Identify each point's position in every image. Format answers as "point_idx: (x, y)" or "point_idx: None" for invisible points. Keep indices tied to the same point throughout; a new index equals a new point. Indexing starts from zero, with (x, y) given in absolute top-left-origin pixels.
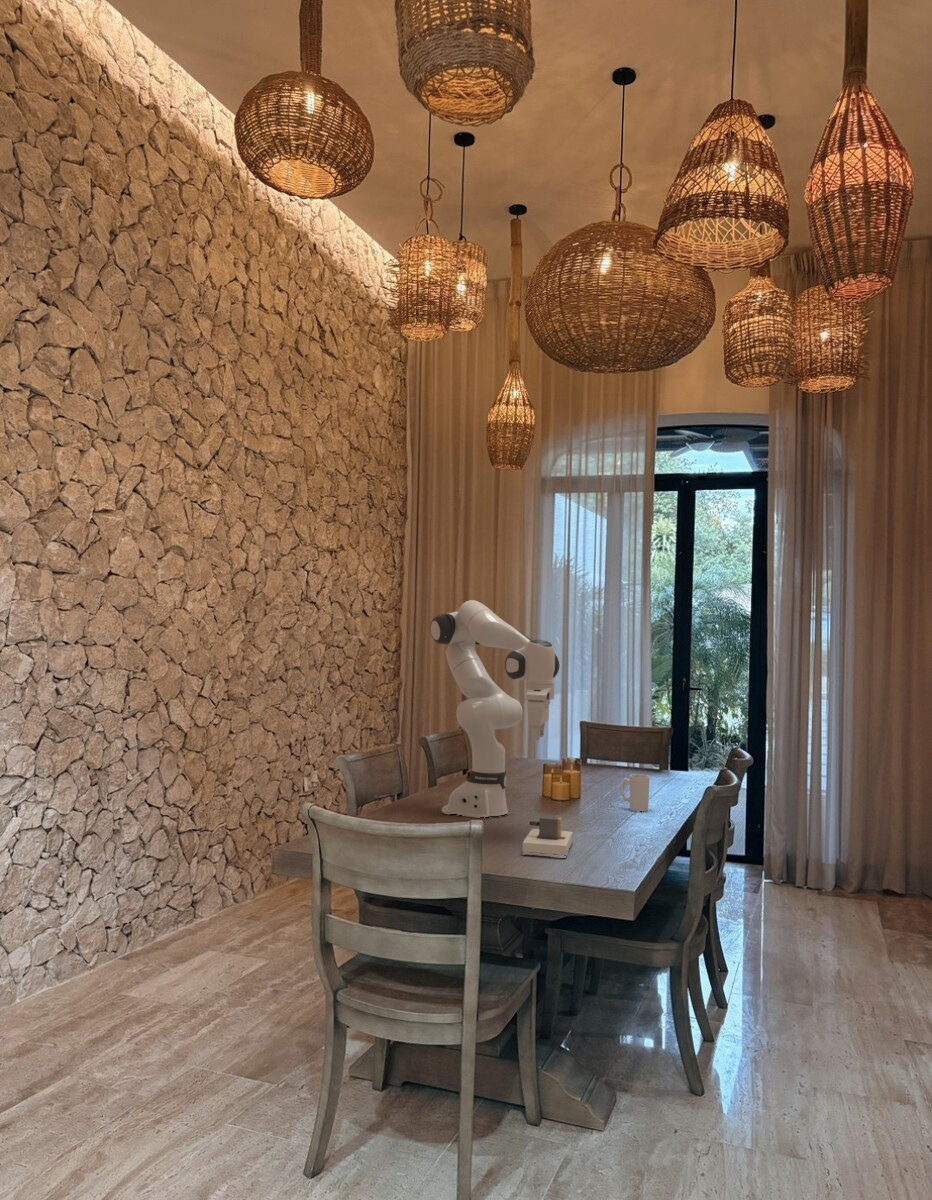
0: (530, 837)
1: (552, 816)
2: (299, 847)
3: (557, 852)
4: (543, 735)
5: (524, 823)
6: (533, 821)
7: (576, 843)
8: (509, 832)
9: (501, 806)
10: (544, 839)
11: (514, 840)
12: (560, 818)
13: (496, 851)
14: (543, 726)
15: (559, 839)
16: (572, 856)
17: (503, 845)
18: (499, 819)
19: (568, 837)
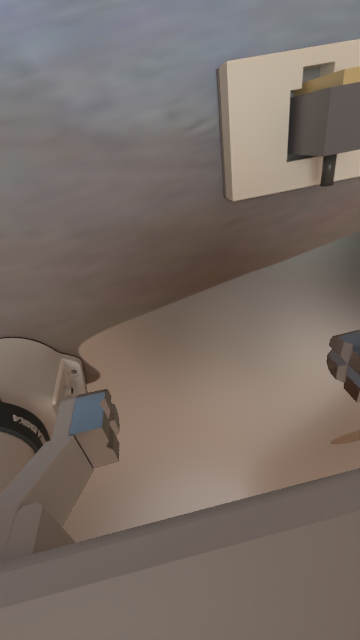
0: None
1: (330, 113)
2: (354, 433)
3: None
4: (71, 398)
5: (58, 275)
6: (332, 174)
7: (204, 56)
8: (168, 270)
9: (21, 356)
10: None
11: (235, 233)
12: (357, 71)
13: (335, 231)
14: (39, 491)
15: None
16: (354, 26)
17: (285, 237)
18: (59, 333)
19: (306, 54)
